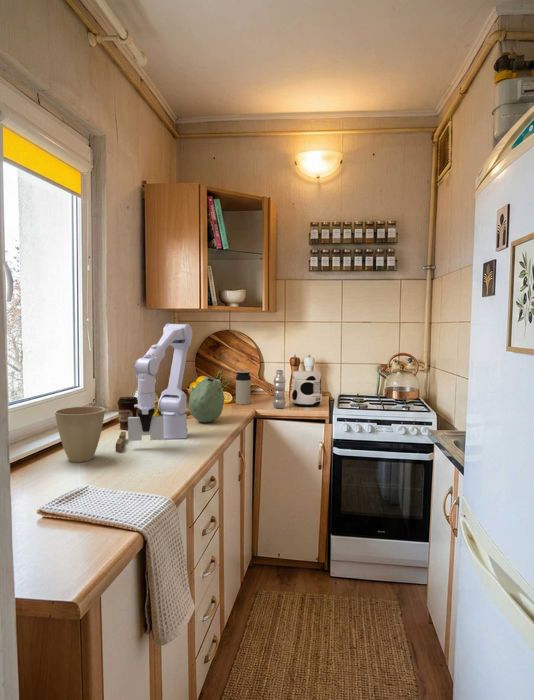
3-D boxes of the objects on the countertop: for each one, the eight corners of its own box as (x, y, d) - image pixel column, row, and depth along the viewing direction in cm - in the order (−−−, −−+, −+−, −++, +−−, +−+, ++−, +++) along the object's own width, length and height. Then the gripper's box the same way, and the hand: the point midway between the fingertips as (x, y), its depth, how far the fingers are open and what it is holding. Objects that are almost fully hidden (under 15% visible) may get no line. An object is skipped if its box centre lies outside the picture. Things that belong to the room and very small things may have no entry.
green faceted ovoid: (182, 425, 204) (182, 379, 202) (196, 416, 222) (196, 374, 221) (217, 427, 201) (218, 380, 200) (228, 418, 220) (229, 375, 218)
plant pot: (108, 451, 162) (108, 405, 161) (100, 465, 147) (100, 414, 146) (61, 453, 159) (61, 406, 158) (49, 466, 145) (49, 415, 144)
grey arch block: (163, 438, 169) (163, 416, 168) (163, 439, 167) (163, 417, 167) (128, 439, 166) (128, 417, 166) (128, 440, 165) (128, 418, 164)
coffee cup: (132, 431, 191) (132, 399, 190) (113, 430, 193) (113, 398, 192) (142, 426, 200) (142, 396, 199) (123, 425, 201) (123, 395, 201)
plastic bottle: (286, 407, 251) (287, 370, 250) (283, 409, 245) (283, 371, 243) (275, 406, 253) (276, 369, 252) (271, 408, 247) (271, 370, 245)
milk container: (291, 401, 270) (292, 370, 269) (322, 403, 267) (323, 371, 266) (288, 407, 253) (289, 373, 251) (321, 408, 250) (322, 374, 249)
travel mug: (238, 405, 255) (239, 371, 254) (233, 402, 262) (234, 370, 261) (252, 404, 258) (252, 371, 257) (247, 402, 265) (247, 370, 264)
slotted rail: (125, 439, 179) (125, 431, 179) (120, 452, 161) (120, 443, 161) (121, 439, 179) (121, 431, 178) (115, 452, 161) (115, 443, 161)
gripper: (136, 389, 172) (136, 426, 173) (132, 395, 158) (132, 436, 159) (155, 389, 173) (155, 425, 174) (154, 395, 159) (154, 435, 160)
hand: (146, 430), depth 166 cm, fingers closed on grey arch block, 2 cm apart
